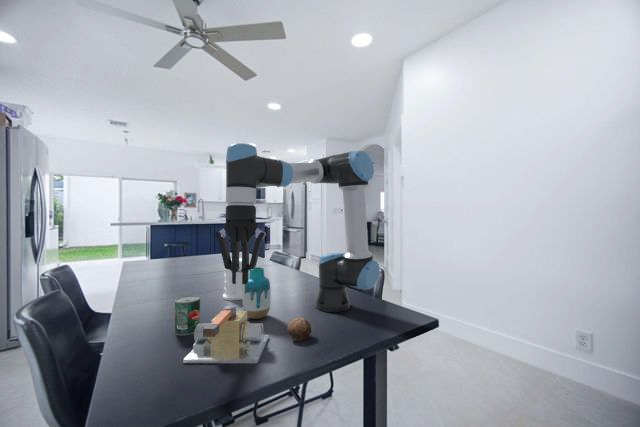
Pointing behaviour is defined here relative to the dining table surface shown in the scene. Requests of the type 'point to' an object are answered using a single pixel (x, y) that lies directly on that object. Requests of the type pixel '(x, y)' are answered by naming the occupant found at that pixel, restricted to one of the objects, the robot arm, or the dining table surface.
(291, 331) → the brown round lump
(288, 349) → the dining table surface
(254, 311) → the vase
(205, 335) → the lever
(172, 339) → the dining table surface
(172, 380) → the dining table surface
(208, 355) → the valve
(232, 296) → the decorative container
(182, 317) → the canned tomato
